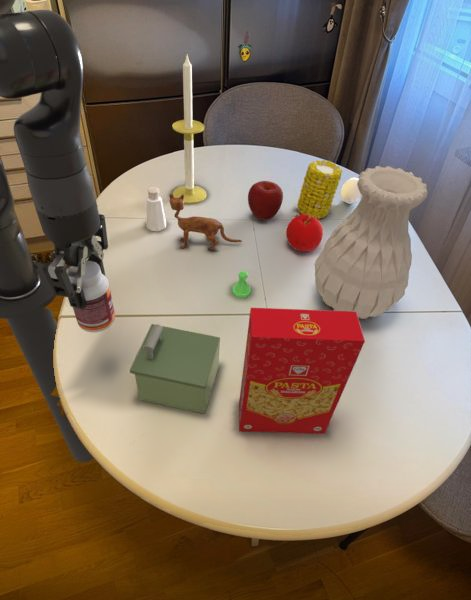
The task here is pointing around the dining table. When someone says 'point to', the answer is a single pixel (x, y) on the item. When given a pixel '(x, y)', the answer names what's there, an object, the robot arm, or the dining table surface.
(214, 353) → the bread bin lid
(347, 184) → the egg
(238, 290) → the game piece
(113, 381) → the dining table surface
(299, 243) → the fruit
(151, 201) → the pepper shaker
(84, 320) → the pill bottle
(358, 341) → the food packaging
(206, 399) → the bin
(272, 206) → the apple
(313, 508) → the dining table surface
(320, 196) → the food
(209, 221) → the cat figurine
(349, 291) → the vase
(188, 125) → the candle
